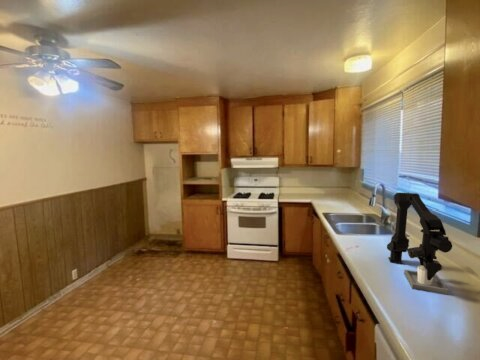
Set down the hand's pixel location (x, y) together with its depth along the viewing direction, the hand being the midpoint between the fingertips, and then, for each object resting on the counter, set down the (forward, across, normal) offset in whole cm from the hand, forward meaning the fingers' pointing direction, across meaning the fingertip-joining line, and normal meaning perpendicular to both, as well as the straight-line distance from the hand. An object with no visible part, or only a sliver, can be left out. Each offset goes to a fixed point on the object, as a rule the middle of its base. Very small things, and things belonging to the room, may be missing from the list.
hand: (425, 275), depth 131 cm
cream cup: (+4, 0, 0) cm, 4 cm away
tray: (+4, 0, 0) cm, 4 cm away
